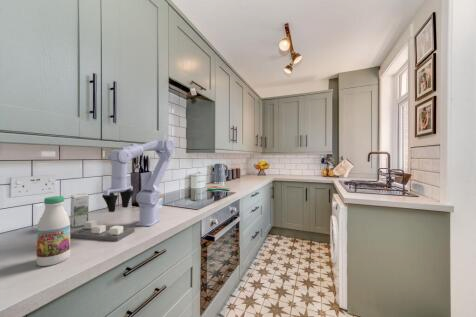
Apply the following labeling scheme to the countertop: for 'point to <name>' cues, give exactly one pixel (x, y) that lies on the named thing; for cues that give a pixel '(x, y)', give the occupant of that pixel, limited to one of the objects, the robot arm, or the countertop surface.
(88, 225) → the switch
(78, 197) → the syrup box
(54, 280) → the countertop surface
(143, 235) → the countertop surface
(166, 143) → the robot arm
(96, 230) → the switch
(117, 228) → the switch
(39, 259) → the milk bottle
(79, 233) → the switch panel
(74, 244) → the countertop surface
